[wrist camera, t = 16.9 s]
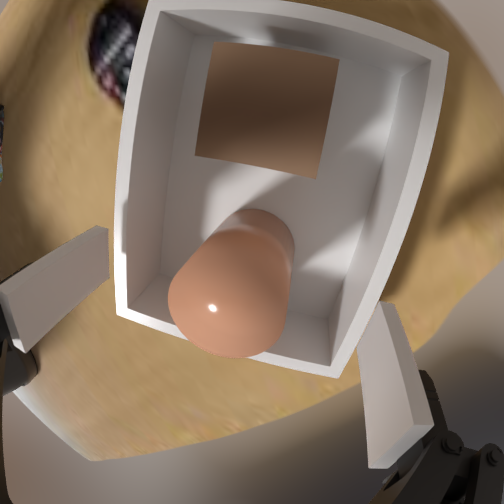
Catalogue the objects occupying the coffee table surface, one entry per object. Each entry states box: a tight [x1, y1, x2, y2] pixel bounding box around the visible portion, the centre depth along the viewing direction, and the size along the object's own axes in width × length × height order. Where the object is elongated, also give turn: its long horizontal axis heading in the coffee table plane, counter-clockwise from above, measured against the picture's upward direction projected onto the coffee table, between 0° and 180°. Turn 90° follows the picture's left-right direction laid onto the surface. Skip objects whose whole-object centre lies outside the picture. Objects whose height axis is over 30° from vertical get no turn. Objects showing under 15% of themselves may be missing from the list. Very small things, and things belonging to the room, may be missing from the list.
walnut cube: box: [195, 42, 340, 179], centre depth 13 cm, size 5×5×5 cm
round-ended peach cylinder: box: [168, 209, 295, 358], centre depth 15 cm, size 5×5×7 cm
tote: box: [114, 0, 449, 378], centre depth 15 cm, size 14×18×5 cm
